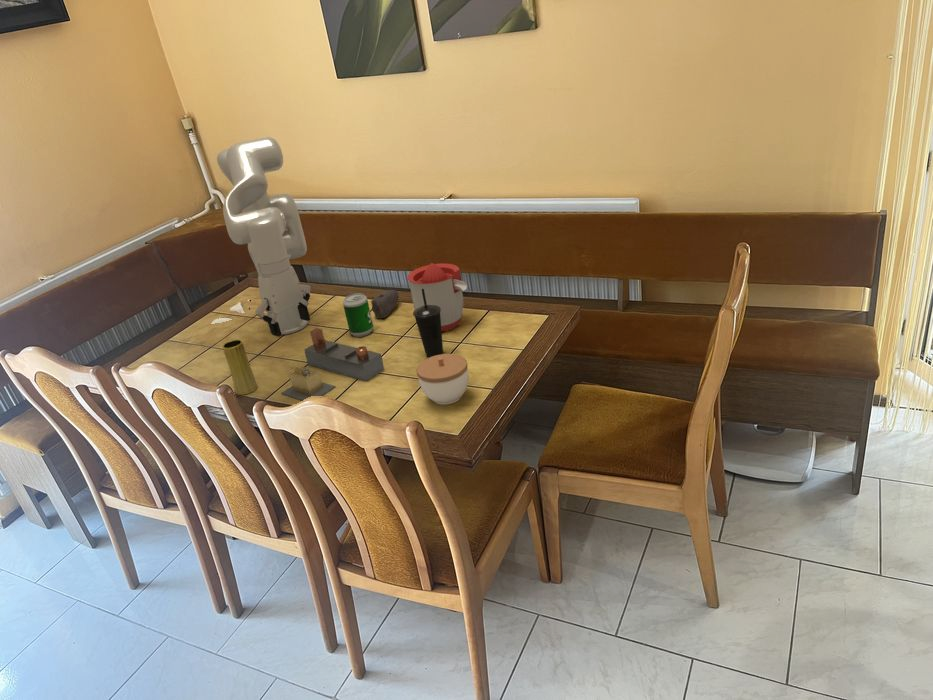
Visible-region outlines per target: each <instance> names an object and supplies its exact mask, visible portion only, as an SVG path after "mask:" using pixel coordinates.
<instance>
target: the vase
mask: <svg viewBox="0 0 933 700" xmlns="http://www.w3.org/2000/svg"><path fill="white" fill-rule="evenodd" d="M222 350H223V353H224V356H225V359H226V363H227V365H228V368H229V371H230V373H231V378H232V382H233V383H232V384H233V388H234V391H235V394H237V395H242V396H244V394H245V395H249V394H252V393H253V392H254V391H256V390H257V389H258V388H259V387H258V384H257V381H256V378H255V375H254V372H253V369H252V367H251V364H250V361H249V357H248V355H247V353H246V349H245V347H244V343H243V341H242V340H241V339H232V340H229V341H226V342H225V343H223V345H222Z"/></svg>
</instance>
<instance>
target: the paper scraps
mask: <svg viewBox="0 0 933 700" xmlns="http://www.w3.org/2000/svg"><path fill="white" fill-rule="evenodd" d="M250 299H251V298H249V299H247V300H246V301H249V300H250ZM242 305H243V304H242V302H241V301H238V303H236V304H235V305H233V306H231V307H230V308H229V309H230V311H237V312H239V313H242V314H243V313H245V312H244V310H243V307H242ZM218 318H219V319H218ZM218 318H215V319H214V320H212V323H211V322H210V323H211V324H215V323H222V322H226V321H229V320H232V319H230V318H220V317H218Z"/></svg>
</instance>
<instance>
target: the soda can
mask: <svg viewBox="0 0 933 700" xmlns="http://www.w3.org/2000/svg"><path fill="white" fill-rule="evenodd" d="M342 307H343V309H344V314H345V318H346V321H347V328H348V332H349V333H350V334H351V335H353V336H354V337H357V338H358V337H359V338H361V337H366V336H369V335H370V334H371V333H372V331H373V330H374V323H373V319H372V314H371V310H370V306H369V301H368V297H367V296H366V295H364V294H363V293H361V292H359V293H357V292H356V293H352V294H348V295H347V296H345V297H344V299H343V300H342Z"/></svg>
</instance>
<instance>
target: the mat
mask: <svg viewBox="0 0 933 700" xmlns="http://www.w3.org/2000/svg"><path fill="white" fill-rule="evenodd" d="M322 384H323V387H324V388H322V389H320V390H319V391H317V392H316V393H314V394H313V395H311V396H322V397H323V396H324V395H327V394H328V393H329V392H331V391H332V390H334V389H336V385H333V384H329V383H326V382H323V381H322ZM280 394H281V395H283V396H287V397H288V398H289V397H290V398H292V399H295V400H298V401H301V402H303V401H302V400H304V399H306V398H308V397H311V396H309V395H305V394H302V393H299V392H295V391H293V387H292V385H291V386H290V387H288V388H287V389H285V390H283V391H281V392H280Z"/></svg>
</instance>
